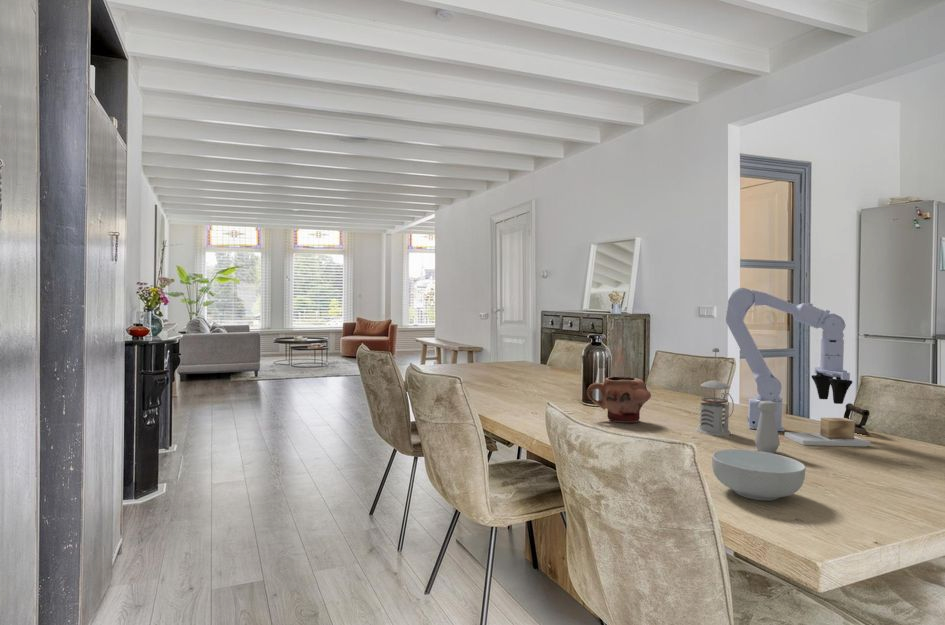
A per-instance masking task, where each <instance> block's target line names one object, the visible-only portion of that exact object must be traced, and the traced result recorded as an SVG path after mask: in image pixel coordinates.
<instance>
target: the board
mask: <svg viewBox="0 0 945 625" xmlns="http://www.w3.org/2000/svg"><path fill="white" fill-rule="evenodd" d="M784 437H785V438H787V439H789V440H791V441H794V442H796V443H798V444H800V445H803V446H828V447H831V446H832V447H833V446H835V447H867V446H871V444H872V443H871V441H869V440H866V439H863V438H860V437H858V436H855V435H854V439H828V438H826V437H823V436H821V435H820V432H791V431H790V432H789V431H788V432H787V431H786V432H785V431H784Z"/></svg>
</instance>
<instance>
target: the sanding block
mask: <svg viewBox="0 0 945 625" xmlns="http://www.w3.org/2000/svg"><path fill="white" fill-rule="evenodd" d="M855 423H856V422H855V420H854V419H853V420H852V419H850V418H849V419H847V418H844V417H820V426H819V427H820V430H819V431H820V432H819V433H820V435H821V436H823V437H826V438H828V439H854V436H855V434H854V430H855Z"/></svg>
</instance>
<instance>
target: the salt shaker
mask: <svg viewBox="0 0 945 625" xmlns="http://www.w3.org/2000/svg"><path fill="white" fill-rule="evenodd" d="M758 407H759V409H760V410H761V413H760V417H759V422H758V427H757V429H756V432H755V435H754V436H755V438H754V444H755V446H756V449H757V450H756V451H762V452H767V453H773V454H776V452H777V450H778V449H779V446H780V445H781V443H780V437H779V431H777V426H776V421H775V415H774V412H775V411H777V404H776V403H775V402H772V401H761V402H759V405H758Z"/></svg>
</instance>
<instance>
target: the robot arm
mask: <svg viewBox="0 0 945 625" xmlns="http://www.w3.org/2000/svg"><path fill="white" fill-rule="evenodd" d="M753 305H754V306H755V307H758V306H767V307H771V308H773V309H776V310H778V311H781V312H784V313H787V314H790V315H792V317H793V319H794V321H796V322H799V323H801V324H804V325H805V326H810V327H811V328H814V329H821V330H822V332H821V333H822V335H821V340H820V362H819V363H820V366H819V367H818V366H815V367H814V374H815V375H814V374H812V375H811V379H812V380H813V383H814V384H815V387H816V391H817V395H818V399H819V400H828V399H829V394H830V388H831V391H832V400H833V404H835V405H836V404H837V405H839V404H840V405H842V404H844V401H845V397H846V394H847V392H848V391H849V389H850V387H851V386H852V384H853V380H851V372H848V371H847V370H846V369H844V352H845V348H844V347H845V345H844V344H845V341H844V340H845V339H844V336H845V334H844V330H845V329H846V323H845V320H844V318H843V317H842V316H840V315H838V314H836V313H831V310H828V309H826V310H824V309H822V308H819V307H816V306H813V305H814V304H813V303H811V302H807V303H805V302H802V303H799V304H794V303H792V302H790V301H787V300H784V299H782V298H779V297H776V296H774V295H772V294H769V293H766V292H762V291H757V290H753V289H751V290H750V288H749V289H748V288H746V287H739V288H737V289H735V290H734V291H732V293H731V295H730V297H729V298H728V300H727V311H726V316H725V323H726V324H727V326H728V329H729V331H730V332H731V334H732V336H733V338H734V340H735V342H736V344H737V346H738V348H739V349H740V352H741V353H742V355H743V357H744V359H745V361H746V363H747V365H748V367H749V369H750V370H751V372H752V375H753V377H754V378H753V379H754V380H755V382H756V386H757V388H756V389H757V391H756V392H757V394H758V395H756V396H755V397H754V398H748V408H747V410H748V414H747V415H748V416H747V425H748V428H749V429H753V430H757V427H758V422H759V417H760V413H761V410H760V409H759V407H758V405H759V402H761V401H772V402H775V403H776V404H777V411H775V412H774V415H775V421H776V426H777V431H778V432H785V428H784V427H783V425H782V424H783V422H782V421H783V398H782V397H781V396H780V394H781V392H782V391H781V390H782V383H781V381H780V380H779V379H778V378H777V377H775V376H774V375H773V373H772V371H771V369H770V368H769V367H768V365H767V363H766V361H765V359H764V357H763V355H762V354H761V352H760V350H759V348H758V346H757V344H756V342H755V340H754V338H753V336H752V335H751V333H750V331H749V329H748V327H747V325H746V323H745V321H744V320H745V318H746V315H747V312H748V311H749V309H751V307H753Z"/></svg>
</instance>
